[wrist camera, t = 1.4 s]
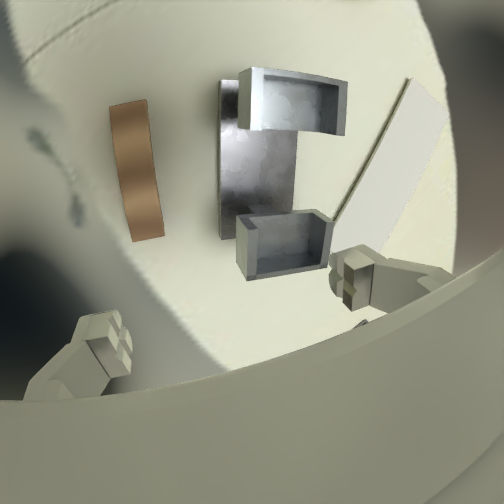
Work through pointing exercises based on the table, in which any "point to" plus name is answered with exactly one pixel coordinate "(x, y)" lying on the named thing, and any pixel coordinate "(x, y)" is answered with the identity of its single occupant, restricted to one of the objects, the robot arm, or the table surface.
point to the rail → (136, 169)
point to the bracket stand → (273, 168)
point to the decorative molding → (391, 171)
